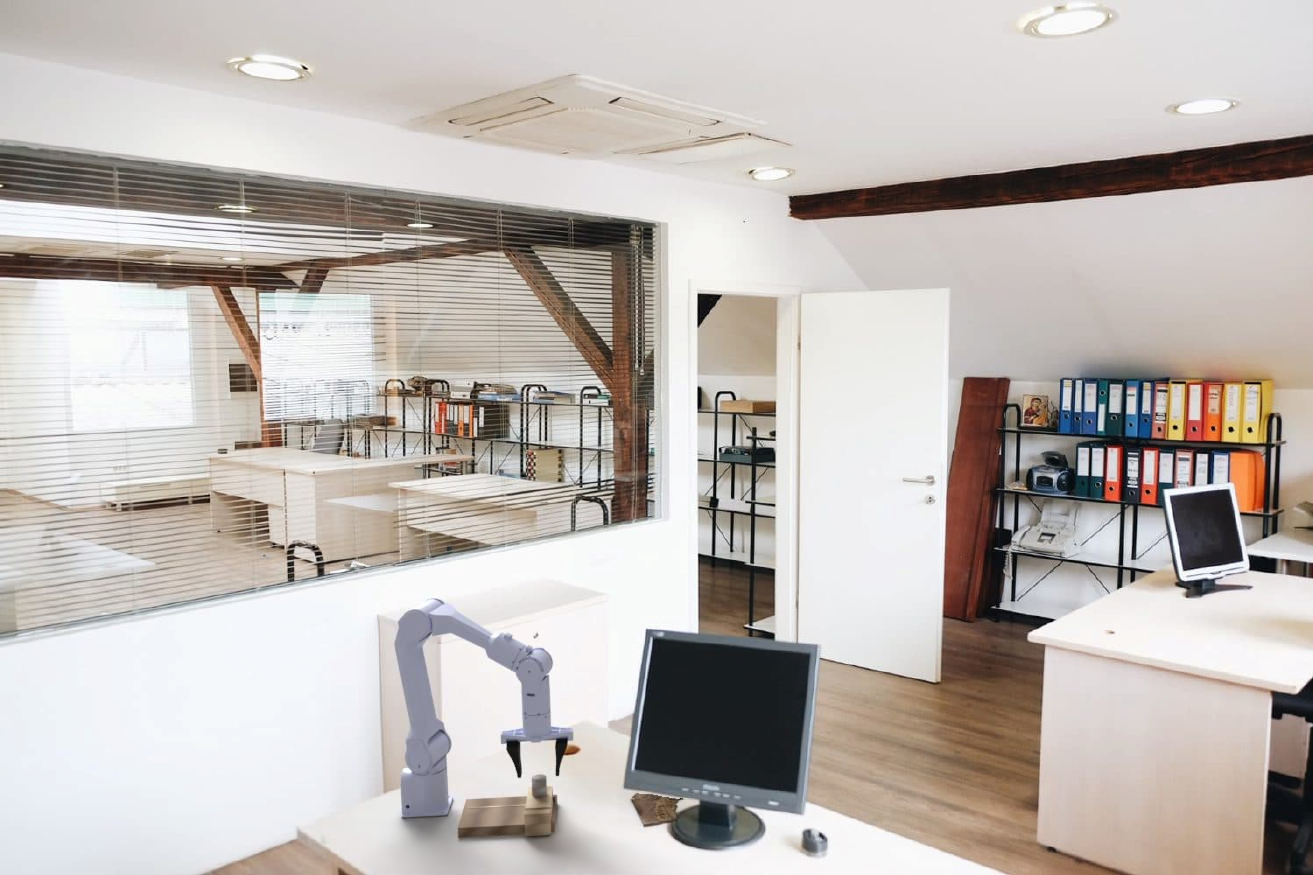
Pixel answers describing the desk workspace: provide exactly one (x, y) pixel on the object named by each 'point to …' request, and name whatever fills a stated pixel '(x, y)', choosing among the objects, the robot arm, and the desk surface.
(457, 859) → the desk surface
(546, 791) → the beige block with knob
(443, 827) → the desk surface
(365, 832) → the desk surface
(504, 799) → the board
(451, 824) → the desk surface
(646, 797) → the wooden fragment
